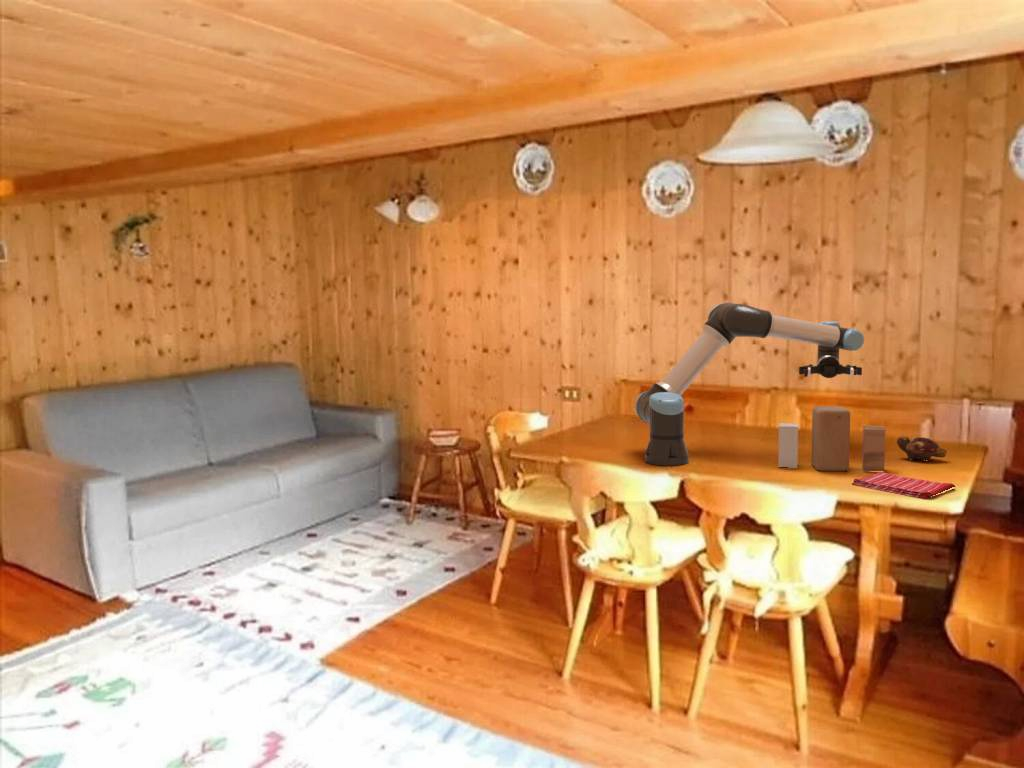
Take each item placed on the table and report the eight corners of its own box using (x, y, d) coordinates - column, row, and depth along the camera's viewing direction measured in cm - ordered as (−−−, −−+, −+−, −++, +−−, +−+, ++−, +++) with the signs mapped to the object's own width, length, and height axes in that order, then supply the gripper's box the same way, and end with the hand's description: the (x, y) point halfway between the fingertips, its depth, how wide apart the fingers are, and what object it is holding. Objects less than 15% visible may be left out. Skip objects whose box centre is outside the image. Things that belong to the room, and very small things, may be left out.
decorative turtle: (894, 455, 282) (896, 433, 281) (943, 461, 276) (946, 438, 275) (895, 460, 273) (898, 437, 272) (946, 466, 267) (949, 442, 266)
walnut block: (883, 472, 259) (885, 429, 257) (863, 471, 261) (864, 429, 259) (882, 468, 264) (883, 426, 262) (862, 467, 266) (863, 425, 265)
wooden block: (849, 471, 261) (851, 410, 259) (817, 471, 263) (818, 410, 260) (842, 464, 271) (843, 405, 268) (810, 464, 273) (811, 405, 270)
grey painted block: (797, 468, 268) (798, 426, 266) (778, 467, 270) (778, 426, 268) (797, 464, 273) (798, 423, 271) (778, 463, 275) (779, 423, 273)
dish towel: (928, 502, 227) (929, 492, 227) (850, 486, 246) (850, 477, 245) (957, 491, 237) (958, 482, 237) (880, 477, 256) (880, 468, 256)
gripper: (866, 377, 289) (870, 385, 269) (792, 376, 297) (791, 384, 278) (866, 356, 288) (871, 362, 268) (792, 356, 296) (791, 362, 277)
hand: (830, 373), depth 273 cm, fingers open, 13 cm apart
